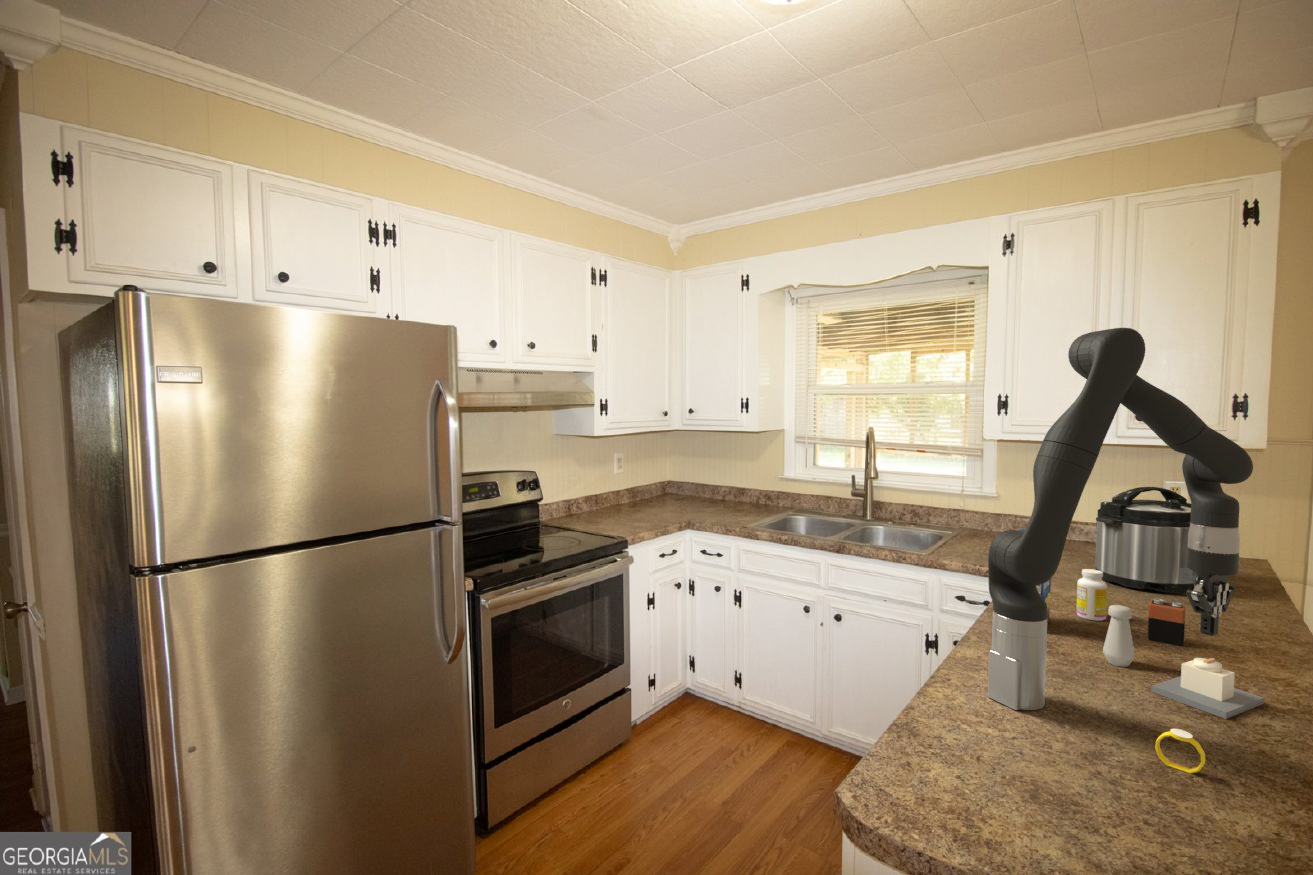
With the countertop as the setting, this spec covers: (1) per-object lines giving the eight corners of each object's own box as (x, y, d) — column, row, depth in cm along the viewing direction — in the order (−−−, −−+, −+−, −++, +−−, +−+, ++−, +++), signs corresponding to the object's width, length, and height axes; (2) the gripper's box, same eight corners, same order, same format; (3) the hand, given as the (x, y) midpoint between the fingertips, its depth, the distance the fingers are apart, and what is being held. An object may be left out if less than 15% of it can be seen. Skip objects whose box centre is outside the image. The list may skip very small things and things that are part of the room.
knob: (1221, 701, 117) (1223, 668, 117) (1180, 686, 123) (1181, 655, 123) (1233, 696, 119) (1235, 664, 119) (1192, 682, 125) (1193, 652, 125)
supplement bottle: (1107, 617, 168) (1109, 570, 167) (1104, 623, 163) (1106, 575, 162) (1078, 611, 172) (1080, 566, 171) (1074, 617, 167) (1075, 571, 167)
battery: (1148, 635, 154) (1150, 596, 154) (1184, 641, 150) (1185, 601, 149) (1147, 639, 151) (1149, 600, 151) (1183, 647, 147) (1185, 606, 146)
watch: (1204, 774, 97) (1209, 739, 96) (1200, 781, 95) (1206, 745, 94) (1156, 755, 101) (1160, 721, 100) (1152, 762, 99) (1157, 727, 99)
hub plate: (1225, 719, 113) (1226, 694, 113) (1151, 691, 124) (1152, 668, 124) (1263, 703, 119) (1264, 680, 118) (1189, 678, 130) (1190, 657, 129)
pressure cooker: (1189, 578, 205) (1194, 484, 204) (1221, 602, 180) (1226, 495, 178) (1082, 567, 219) (1085, 479, 217) (1098, 588, 194) (1101, 489, 192)
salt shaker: (1103, 655, 142) (1105, 600, 141) (1134, 662, 138) (1137, 605, 137) (1101, 663, 137) (1103, 607, 136) (1134, 670, 134) (1136, 612, 133)
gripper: (1218, 555, 114) (1214, 646, 115) (1255, 548, 119) (1250, 635, 120) (1171, 547, 120) (1167, 633, 121) (1207, 540, 126) (1204, 623, 127)
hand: (1209, 634), depth 121 cm, fingers closed
